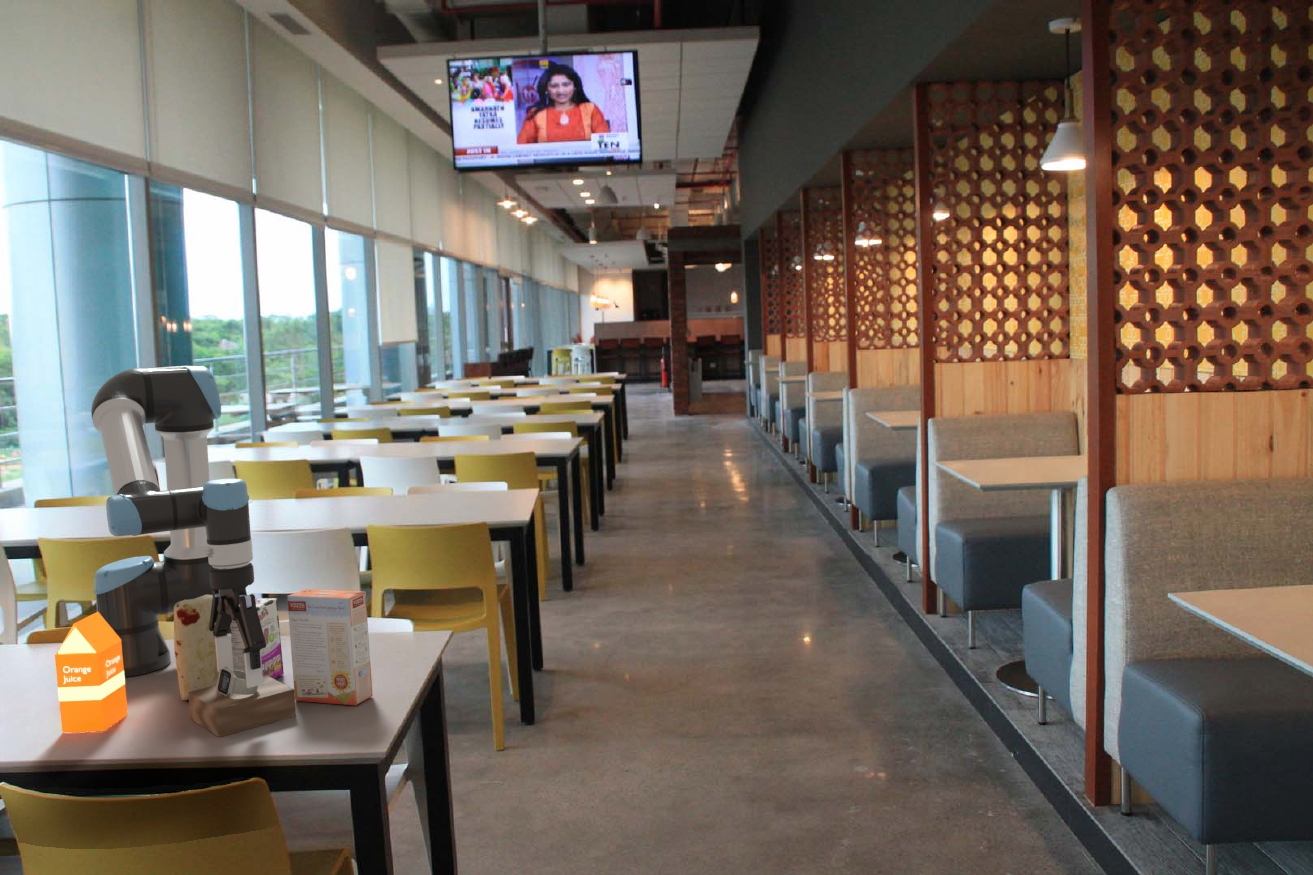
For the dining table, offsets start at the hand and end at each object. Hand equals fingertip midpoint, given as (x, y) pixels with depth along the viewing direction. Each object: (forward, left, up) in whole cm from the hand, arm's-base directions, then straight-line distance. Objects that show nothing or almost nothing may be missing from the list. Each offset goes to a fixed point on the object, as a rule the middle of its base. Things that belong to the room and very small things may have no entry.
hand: (239, 677), depth 193 cm
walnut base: (0, 0, -7) cm, 7 cm away
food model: (-18, -1, -8) cm, 20 cm away
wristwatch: (0, 0, -3) cm, 3 cm away
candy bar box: (-17, +10, -8) cm, 21 cm away
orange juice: (-18, -20, -8) cm, 28 cm away
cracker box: (+4, +16, -8) cm, 18 cm away
